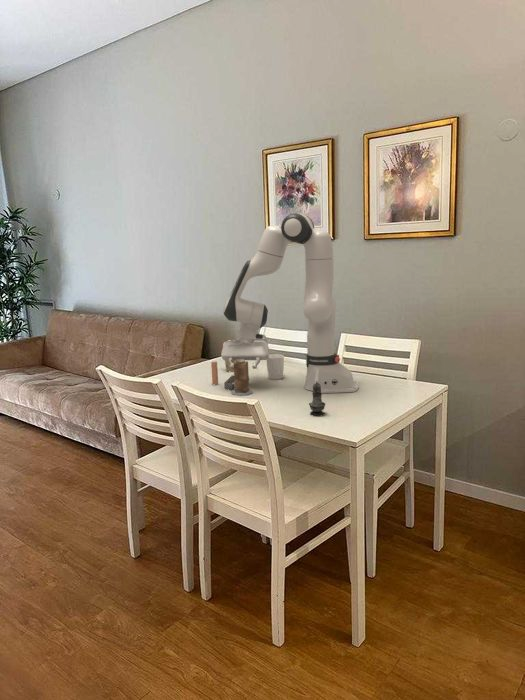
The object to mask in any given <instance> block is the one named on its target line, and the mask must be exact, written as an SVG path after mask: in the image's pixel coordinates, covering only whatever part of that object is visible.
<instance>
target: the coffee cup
mask: <svg viewBox="0 0 525 700" xmlns="http://www.w3.org/2000/svg"><path fill="white" fill-rule="evenodd" d="M224 362H225V369H226V370H225V371H226V372H228V371H230V372H229V373H234V369H231V368H230V362H229V360H224ZM235 362H237V360H233V362H232V363H235Z"/></svg>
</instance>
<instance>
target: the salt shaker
mask: <svg viewBox="0 0 525 700" xmlns="http://www.w3.org/2000/svg"><path fill="white" fill-rule="evenodd" d="M311 395H312V400H311V402H309V403H308V406H309V408H310V410H311V412H310V413H309V415H310V416H312V415H313V417H321V415H322V416H324V415H325V414H326V413H325V411H324V409H325V408H326V407H325V406H326V402H324V401H323V400H322V395H323V393H321V385H320V384H318V383H317V381H316V383H315V384H314V385H313V391H312V393H311Z"/></svg>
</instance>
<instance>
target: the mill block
mask: <svg viewBox="0 0 525 700" xmlns="http://www.w3.org/2000/svg"><path fill="white" fill-rule="evenodd" d="M249 374H250V373H249V360H244V359H238V360H237V362H235V363H234V372H233V376H234V382H233V383H234V389H235V393H247V392H248V391H249V389H250V378H249V376H250V375H249Z"/></svg>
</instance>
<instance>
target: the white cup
mask: <svg viewBox="0 0 525 700" xmlns="http://www.w3.org/2000/svg"><path fill="white" fill-rule="evenodd" d="M284 365H285V356H284V355H283V354H279V353H277V354H276V353H275V354H269V359H268V360H266V368H267V375H268V376H267V377H268V379H269V380H281V378H282V379H283V378H284V372H285V371H284V370H285V369H284V368H285V366H284Z"/></svg>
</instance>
